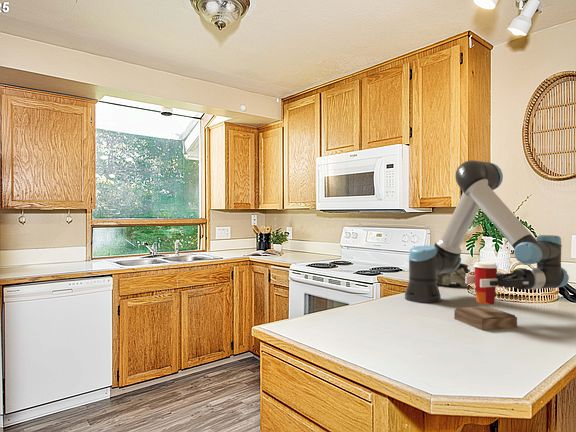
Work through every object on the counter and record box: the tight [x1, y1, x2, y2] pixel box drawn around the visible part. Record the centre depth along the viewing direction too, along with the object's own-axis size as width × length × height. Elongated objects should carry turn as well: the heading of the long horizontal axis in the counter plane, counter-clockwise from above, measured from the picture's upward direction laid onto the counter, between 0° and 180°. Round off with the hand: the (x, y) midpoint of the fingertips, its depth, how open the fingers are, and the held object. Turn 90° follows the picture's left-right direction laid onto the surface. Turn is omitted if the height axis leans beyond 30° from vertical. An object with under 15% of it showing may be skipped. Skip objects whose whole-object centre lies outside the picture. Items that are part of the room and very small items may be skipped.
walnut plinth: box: [453, 305, 518, 331], centre depth 140 cm, size 14×14×4 cm
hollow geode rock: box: [437, 263, 471, 288], centre depth 209 cm, size 28×13×15 cm
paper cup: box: [472, 261, 499, 306], centre depth 139 cm, size 8×8×14 cm
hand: (473, 281), depth 138 cm, fingers closed on paper cup, 7 cm apart
